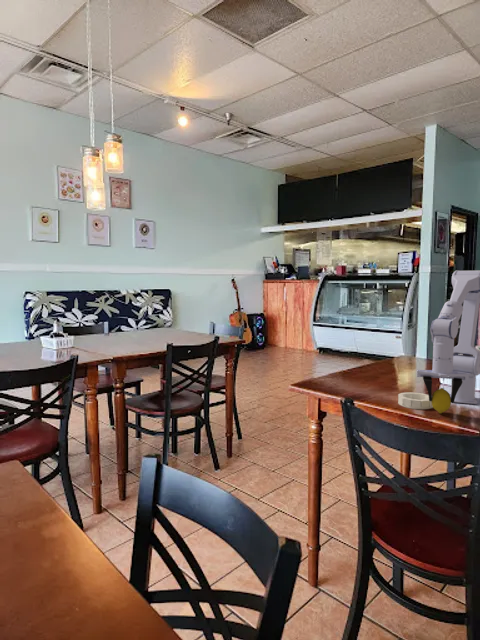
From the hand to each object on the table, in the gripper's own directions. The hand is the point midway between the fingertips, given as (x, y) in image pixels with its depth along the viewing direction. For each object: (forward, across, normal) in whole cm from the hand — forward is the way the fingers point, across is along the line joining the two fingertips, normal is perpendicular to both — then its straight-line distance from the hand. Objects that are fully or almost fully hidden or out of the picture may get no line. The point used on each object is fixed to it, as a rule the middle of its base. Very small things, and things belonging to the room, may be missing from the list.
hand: (441, 401), depth 137 cm
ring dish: (+4, -7, +8) cm, 11 cm away
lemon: (+4, 0, 0) cm, 4 cm away
